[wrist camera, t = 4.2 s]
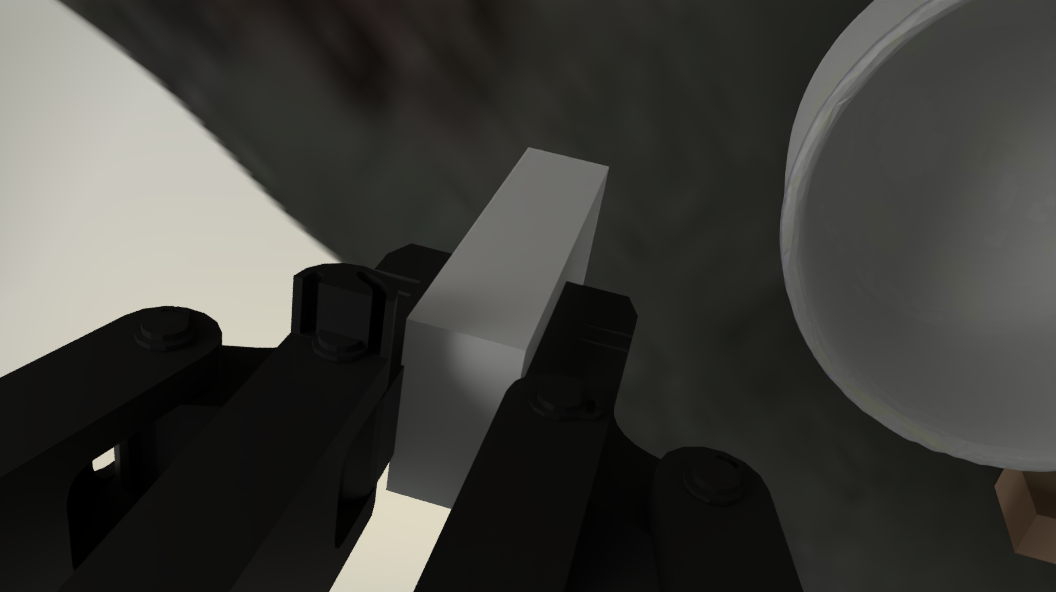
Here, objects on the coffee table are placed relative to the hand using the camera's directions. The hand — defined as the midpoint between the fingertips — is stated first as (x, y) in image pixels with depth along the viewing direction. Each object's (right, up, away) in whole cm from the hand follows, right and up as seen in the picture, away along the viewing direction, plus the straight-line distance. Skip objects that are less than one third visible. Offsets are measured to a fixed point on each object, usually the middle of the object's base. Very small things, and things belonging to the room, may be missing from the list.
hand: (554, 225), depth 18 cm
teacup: (+13, +2, +8) cm, 15 cm away
